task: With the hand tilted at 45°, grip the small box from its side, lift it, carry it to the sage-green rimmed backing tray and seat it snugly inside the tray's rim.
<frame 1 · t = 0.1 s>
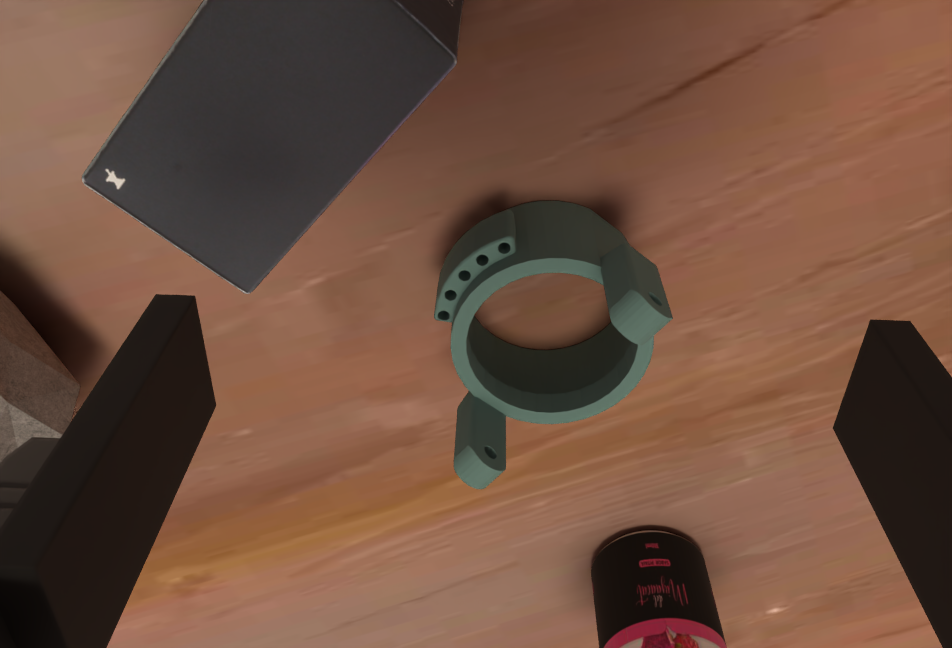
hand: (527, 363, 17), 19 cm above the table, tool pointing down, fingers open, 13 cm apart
beverage can: (646, 561, 49), on the table
small box: (324, 29, 32), on the table
bracket: (539, 275, 38), on the table
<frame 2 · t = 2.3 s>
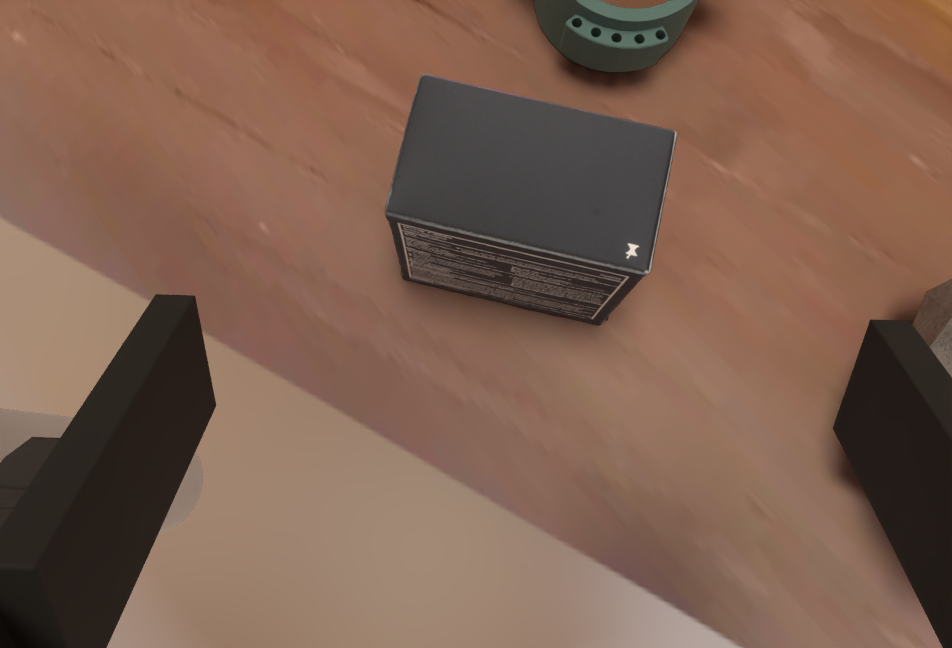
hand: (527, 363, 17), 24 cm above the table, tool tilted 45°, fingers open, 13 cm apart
small box: (514, 244, 42), on the table
bracket: (609, 9, 44), on the table
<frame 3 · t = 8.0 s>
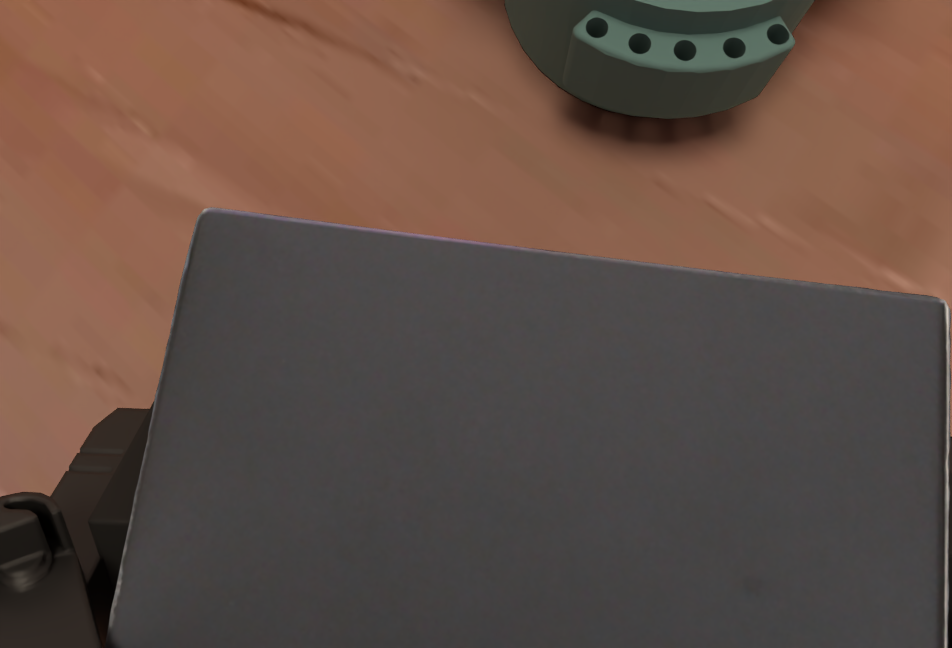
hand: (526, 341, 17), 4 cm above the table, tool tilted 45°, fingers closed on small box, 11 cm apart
small box: (514, 481, 21), on the table, touching gripper
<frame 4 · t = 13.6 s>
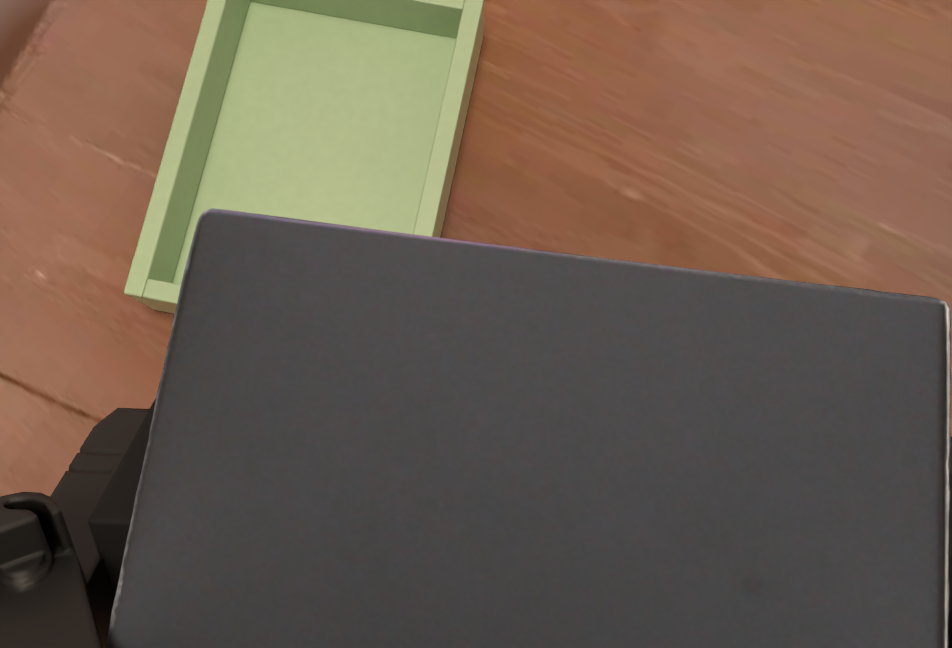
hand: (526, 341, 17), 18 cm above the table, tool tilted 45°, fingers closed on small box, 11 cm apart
small box: (515, 482, 21), point 14 cm above the table, touching gripper
backing tray: (323, 167, 37), on the table
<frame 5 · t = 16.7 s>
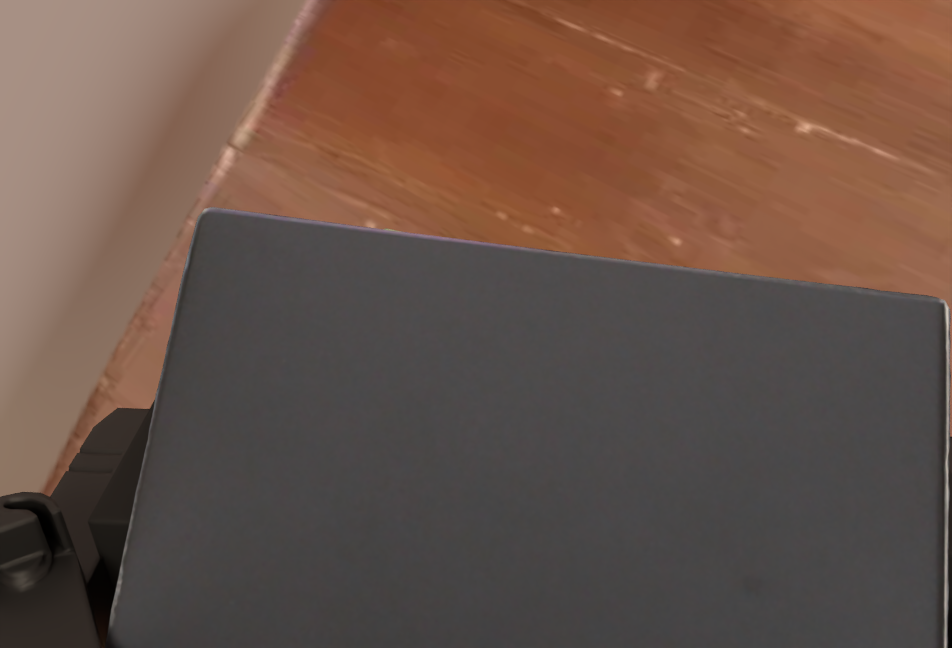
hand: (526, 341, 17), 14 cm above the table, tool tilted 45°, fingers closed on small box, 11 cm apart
small box: (515, 481, 21), point 10 cm above the table, touching gripper
when the fingers open (7 cm above the table, at t = 19.2 s): small box stays where it is, resting on backing tray.
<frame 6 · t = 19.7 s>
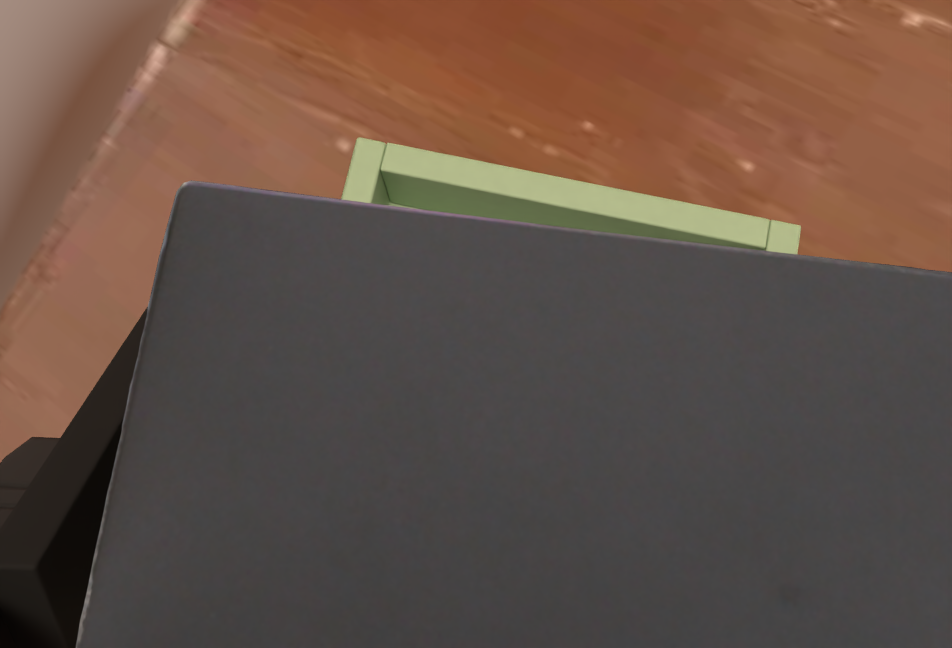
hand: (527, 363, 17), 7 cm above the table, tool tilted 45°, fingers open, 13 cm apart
small box: (520, 480, 20), point 3 cm above the table, touching backing tray
backing tray: (510, 483, 23), on the table
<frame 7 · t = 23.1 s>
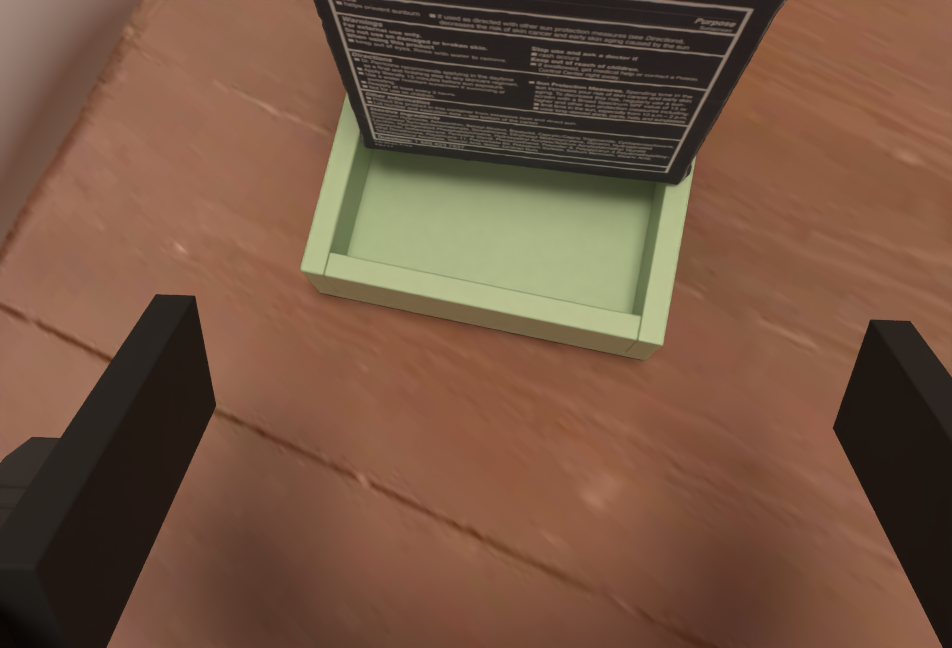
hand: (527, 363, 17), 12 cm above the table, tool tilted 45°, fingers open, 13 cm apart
small box: (531, 81, 27), point 3 cm above the table, touching backing tray
backing tray: (524, 121, 30), on the table
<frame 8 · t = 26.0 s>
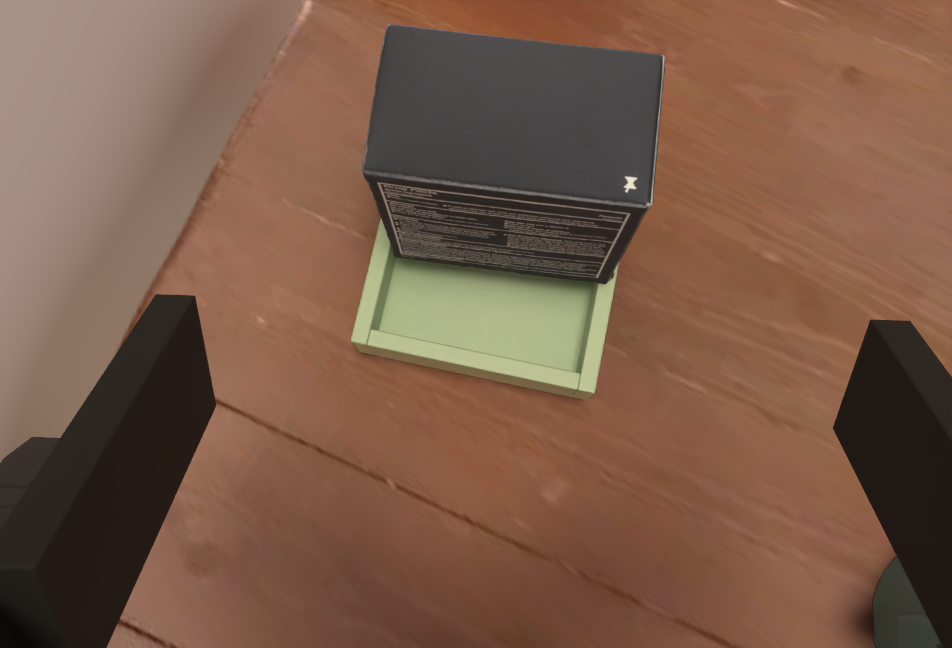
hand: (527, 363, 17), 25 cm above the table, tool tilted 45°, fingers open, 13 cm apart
small box: (507, 210, 40), point 3 cm above the table, touching backing tray
backing tray: (503, 229, 43), on the table
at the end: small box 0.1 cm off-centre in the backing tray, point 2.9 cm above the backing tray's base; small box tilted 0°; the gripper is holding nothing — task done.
